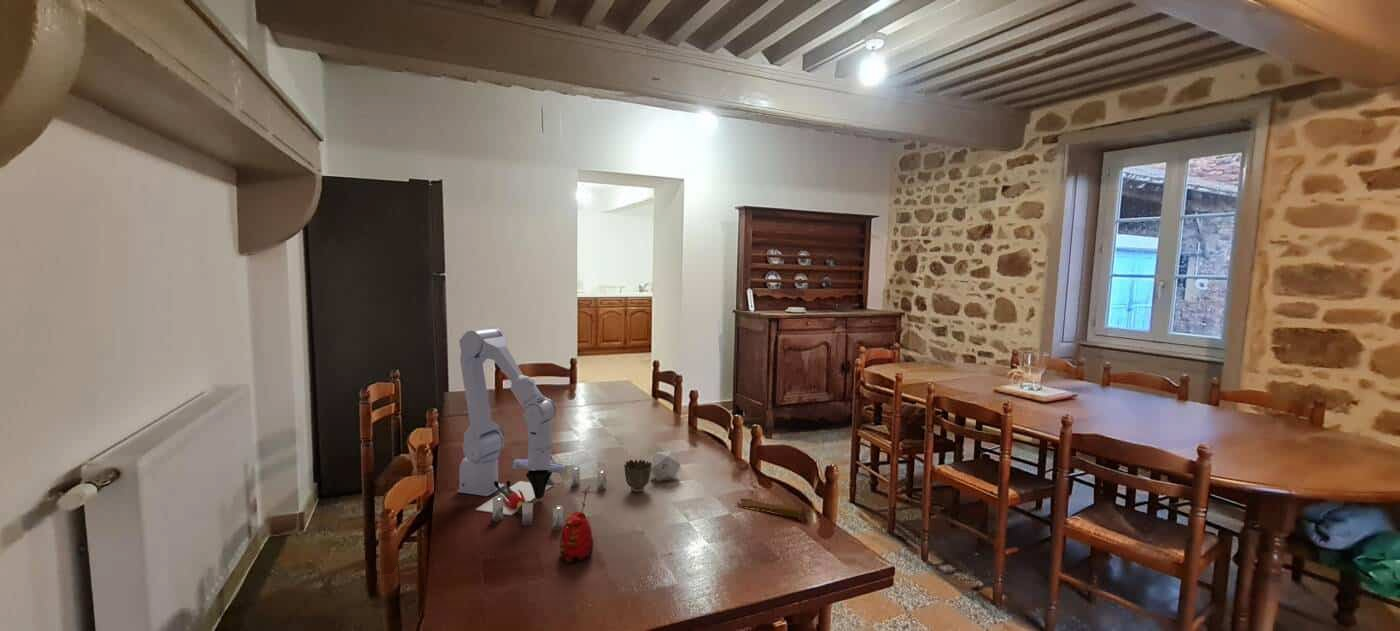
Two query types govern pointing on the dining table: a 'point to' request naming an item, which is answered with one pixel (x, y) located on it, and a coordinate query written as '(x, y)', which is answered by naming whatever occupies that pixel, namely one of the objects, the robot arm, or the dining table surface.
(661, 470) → the die
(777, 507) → the primitive tool
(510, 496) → the person figure
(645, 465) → the cup
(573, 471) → the spacer field
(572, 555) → the red clay folk toy
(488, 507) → the mat
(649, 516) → the dining table surface
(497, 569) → the dining table surface
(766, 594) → the dining table surface
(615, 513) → the dining table surface
